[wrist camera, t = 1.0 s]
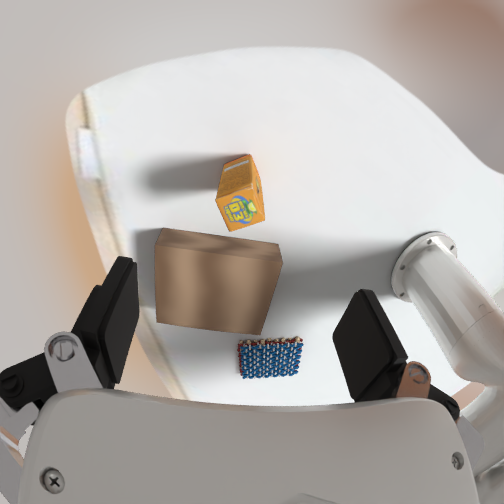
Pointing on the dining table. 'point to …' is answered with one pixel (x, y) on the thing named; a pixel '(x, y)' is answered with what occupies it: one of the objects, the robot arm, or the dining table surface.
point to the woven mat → (269, 358)
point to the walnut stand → (214, 281)
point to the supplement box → (240, 194)
